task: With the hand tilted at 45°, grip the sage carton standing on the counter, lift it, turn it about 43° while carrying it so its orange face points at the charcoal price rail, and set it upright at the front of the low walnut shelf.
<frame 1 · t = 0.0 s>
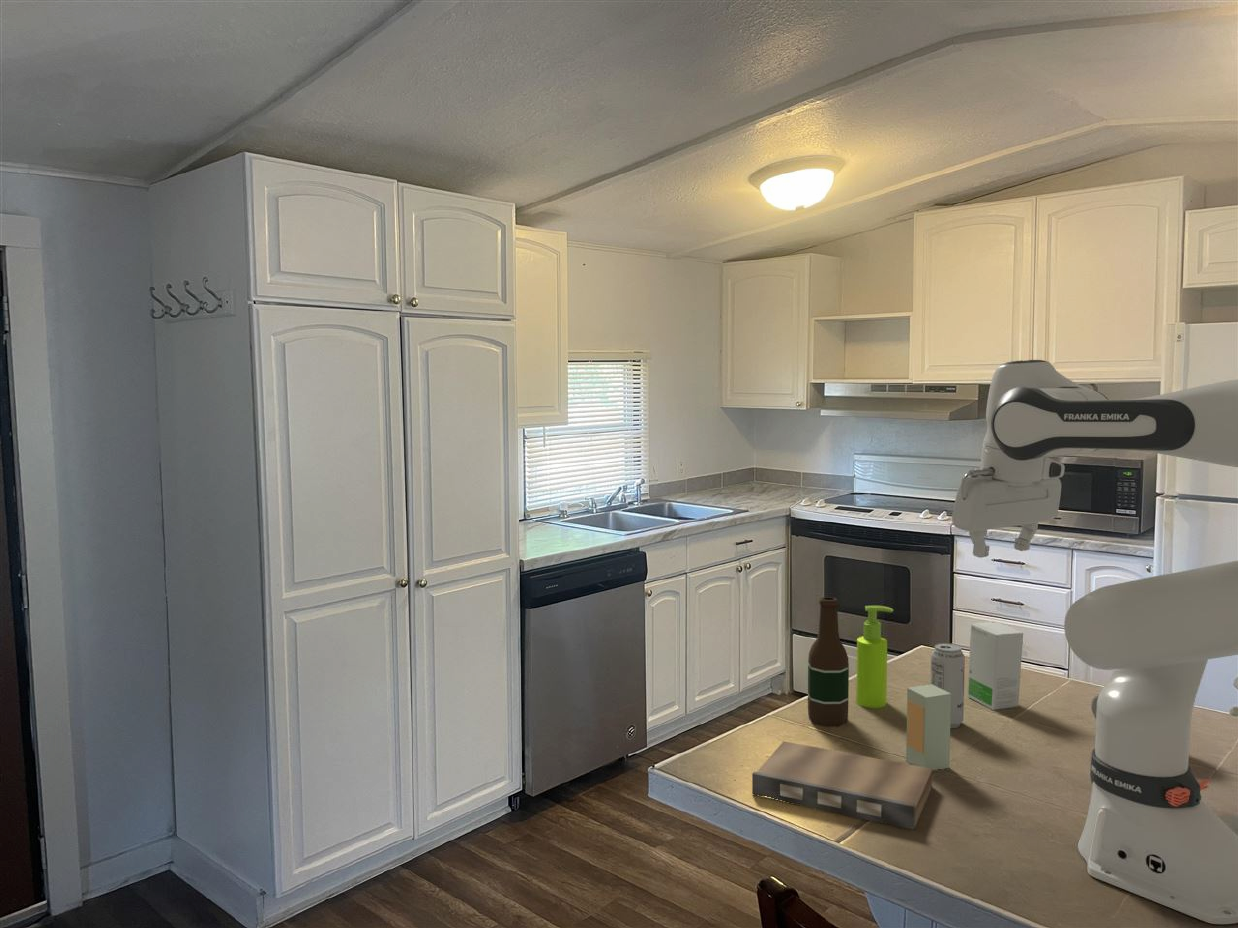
hand: (1001, 553, 141), 39 cm above the countertop, tool pointing down, fingers open, 8 cm apart
beer bottle: (827, 720, 177), on the countertop
mug: (1126, 744, 163), on the countertop
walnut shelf: (843, 789, 147), on the countertop
sage carton: (927, 764, 156), on the countertop
soap dispenser: (873, 703, 185), on the countertop
skincare box: (993, 702, 185), on the countertop
energy drink can: (946, 724, 174), on the countertop
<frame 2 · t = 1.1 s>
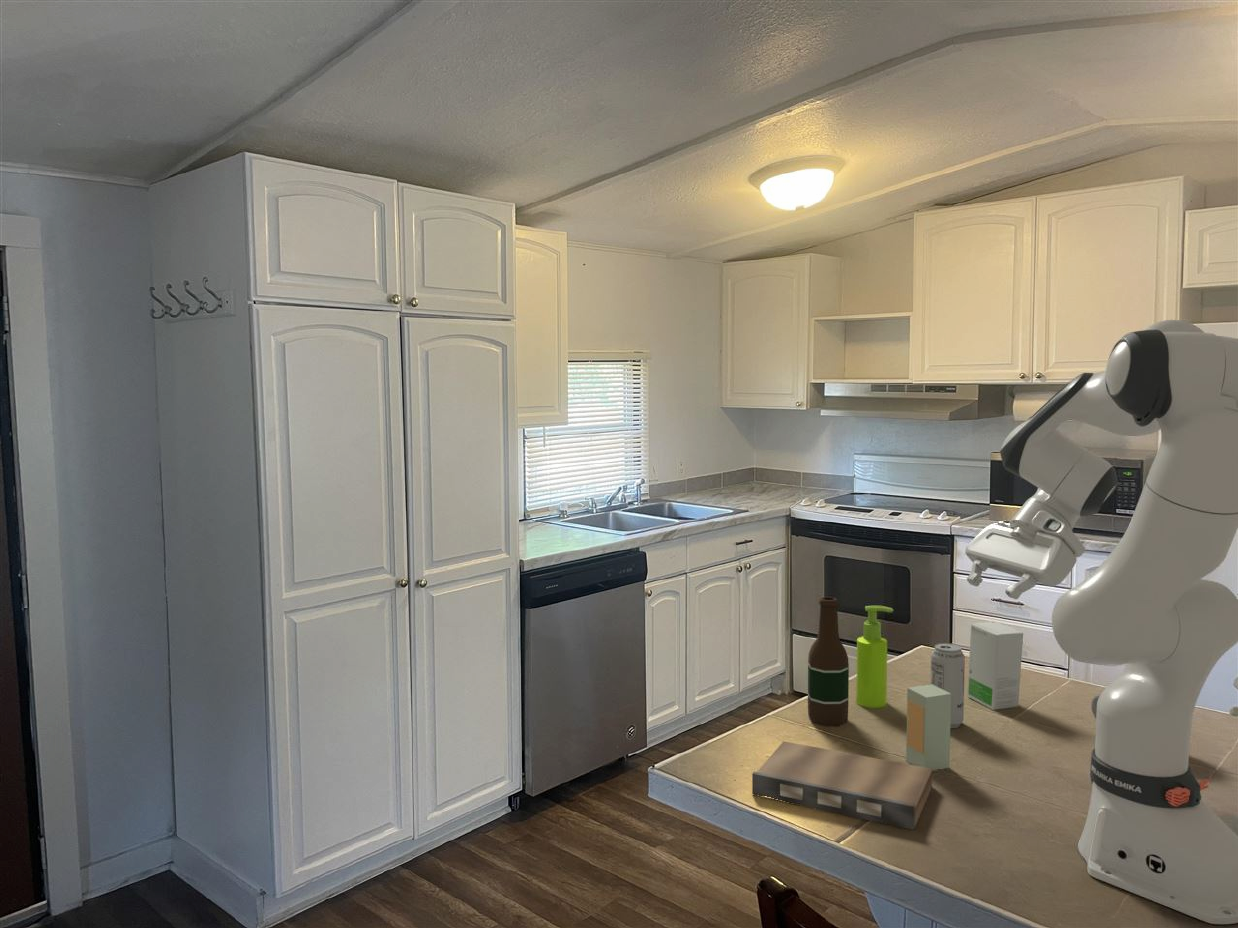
hand: (990, 589, 157), 29 cm above the countertop, tool tilted 45°, fingers open, 8 cm apart
nothing on the countertop moved.
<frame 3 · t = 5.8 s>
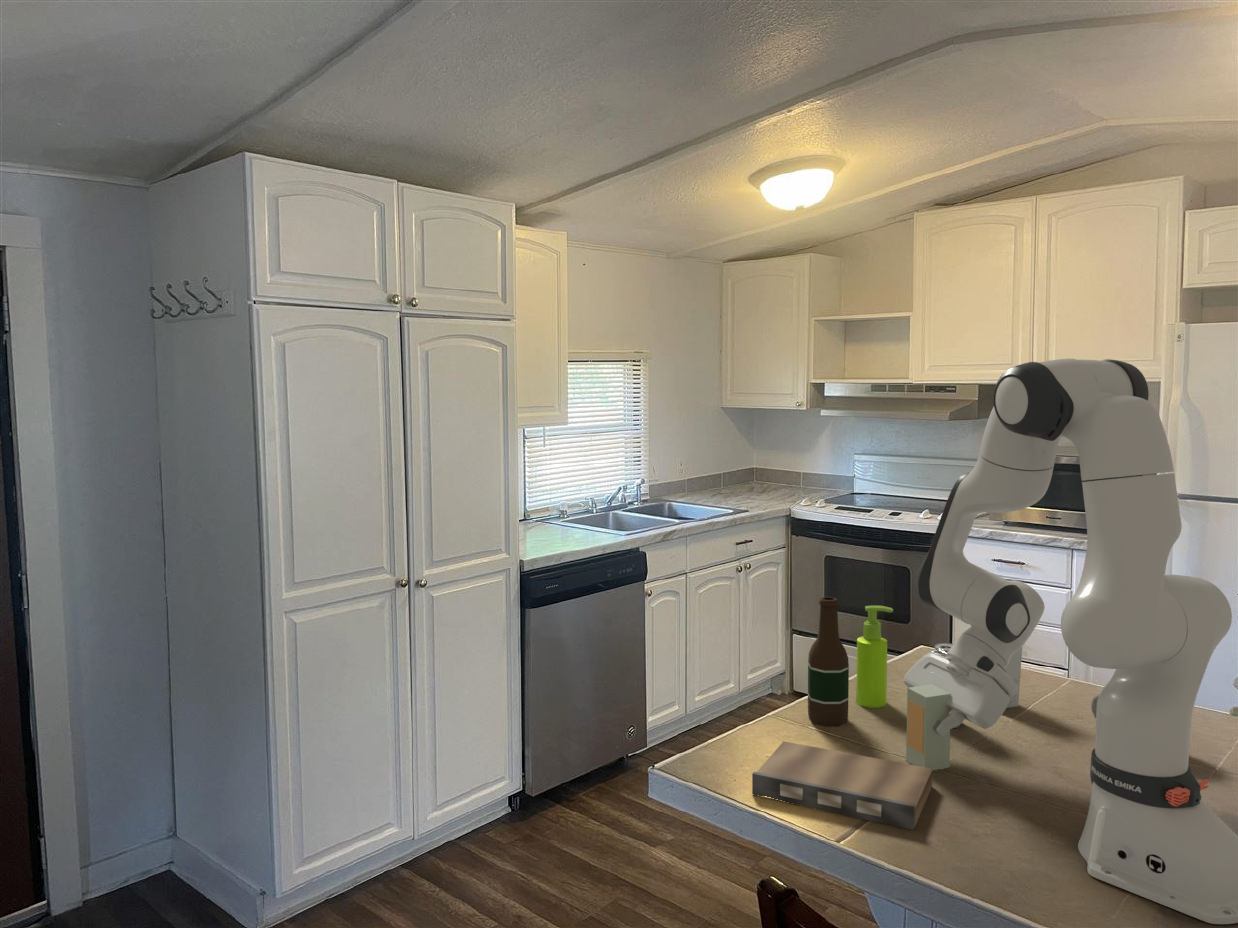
hand: (925, 725, 155), 7 cm above the countertop, tool tilted 45°, fingers closed on sage carton, 5 cm apart
sage carton: (927, 763, 156), on the countertop, touching gripper
everything else where it was.
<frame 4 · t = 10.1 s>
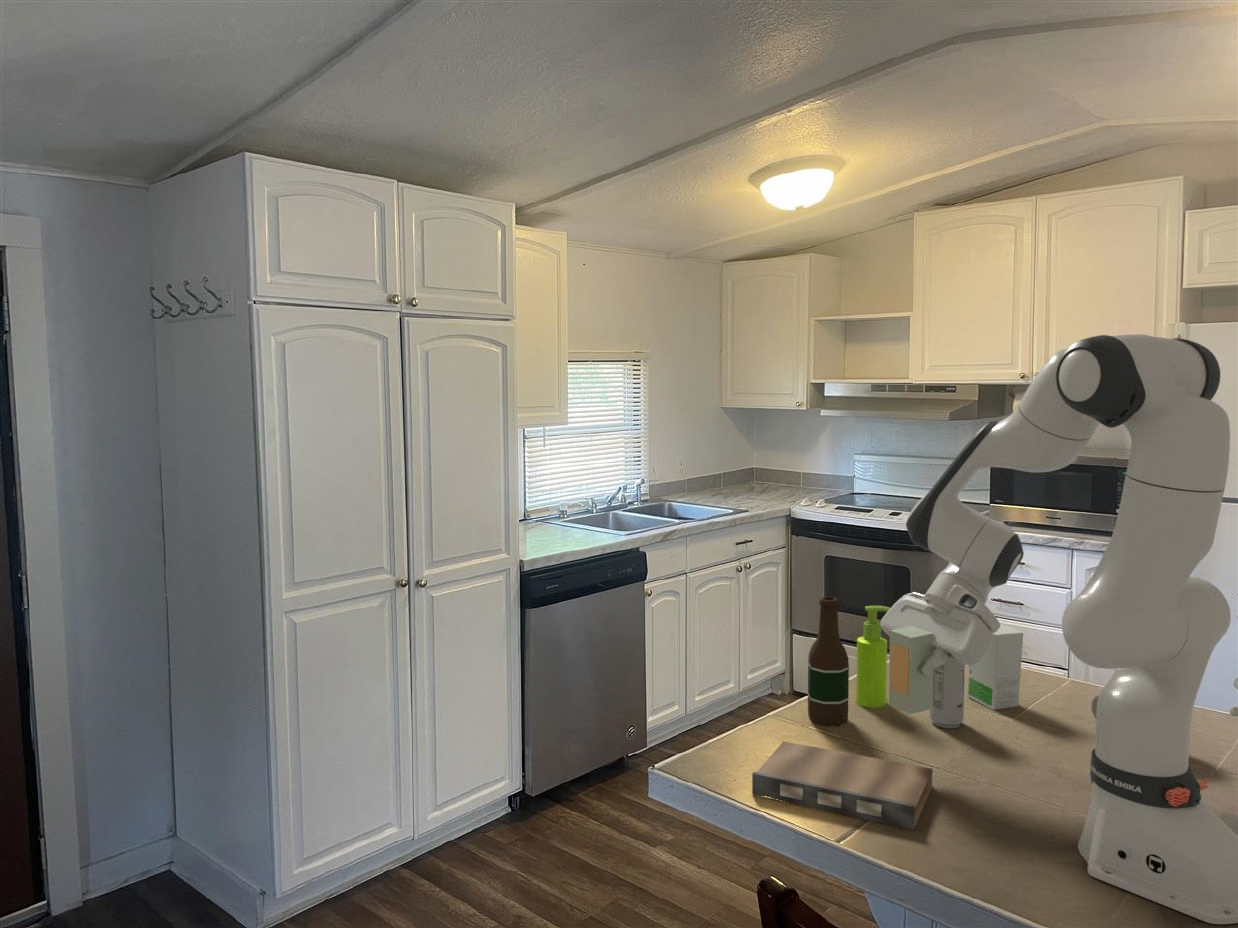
hand: (908, 667, 153), 17 cm above the countertop, tool tilted 45°, fingers closed on sage carton, 5 cm apart
sage carton: (910, 706, 154), point 11 cm above the countertop, touching gripper
everything else where it was.
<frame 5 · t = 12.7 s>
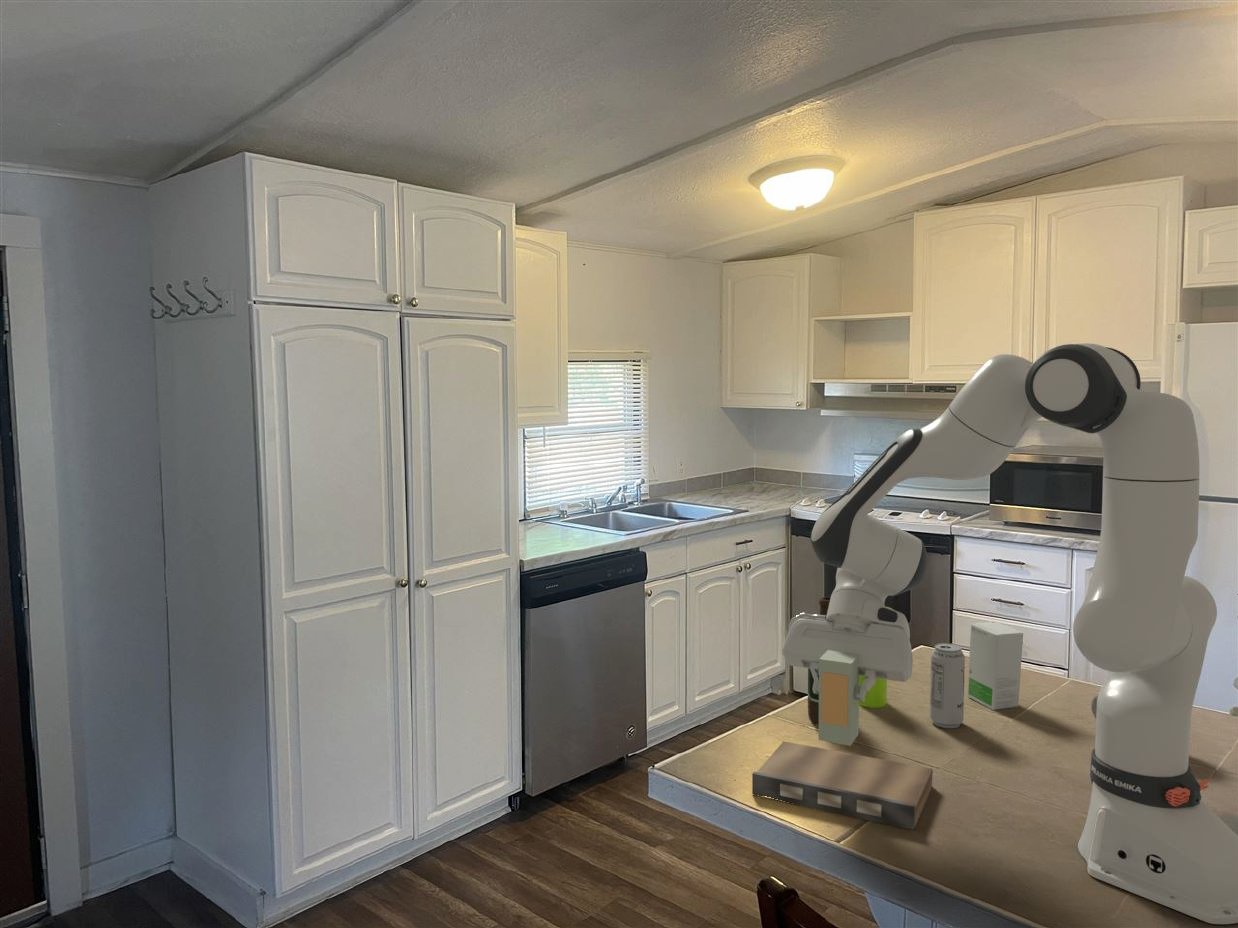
hand: (838, 695, 142), 17 cm above the countertop, tool tilted 45°, fingers closed on sage carton, 5 cm apart
sage carton: (838, 736, 143), point 10 cm above the countertop, touching gripper
everything else where it was.
when the fingers open (11 cm above the countertop, at t = 14.7 s): sage carton drops 1 cm, resting on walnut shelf.
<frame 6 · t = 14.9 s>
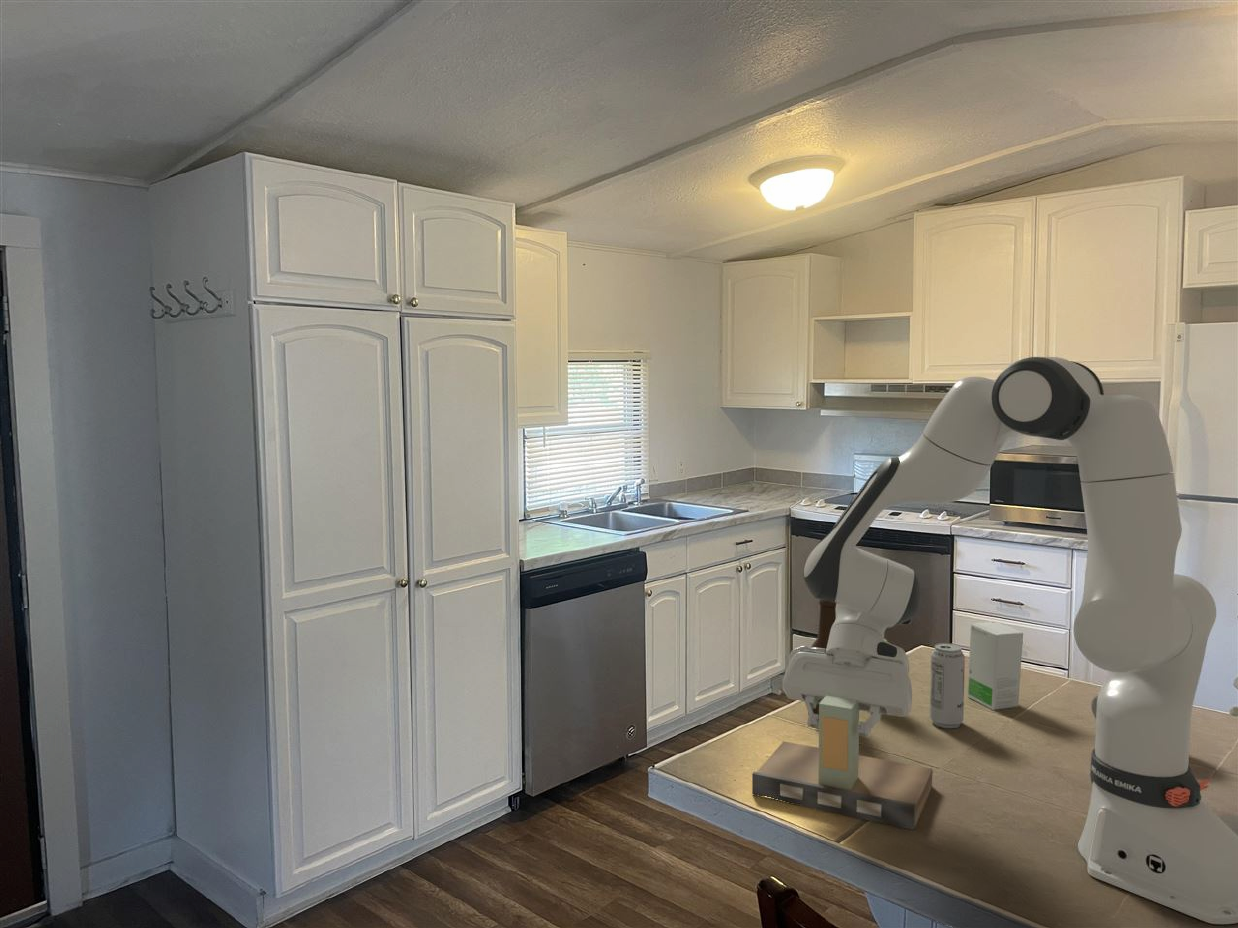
hand: (837, 730, 142), 11 cm above the countertop, tool tilted 45°, fingers open, 7 cm apart
sage carton: (838, 780, 144), point 3 cm above the countertop, touching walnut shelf
everything else where it was.
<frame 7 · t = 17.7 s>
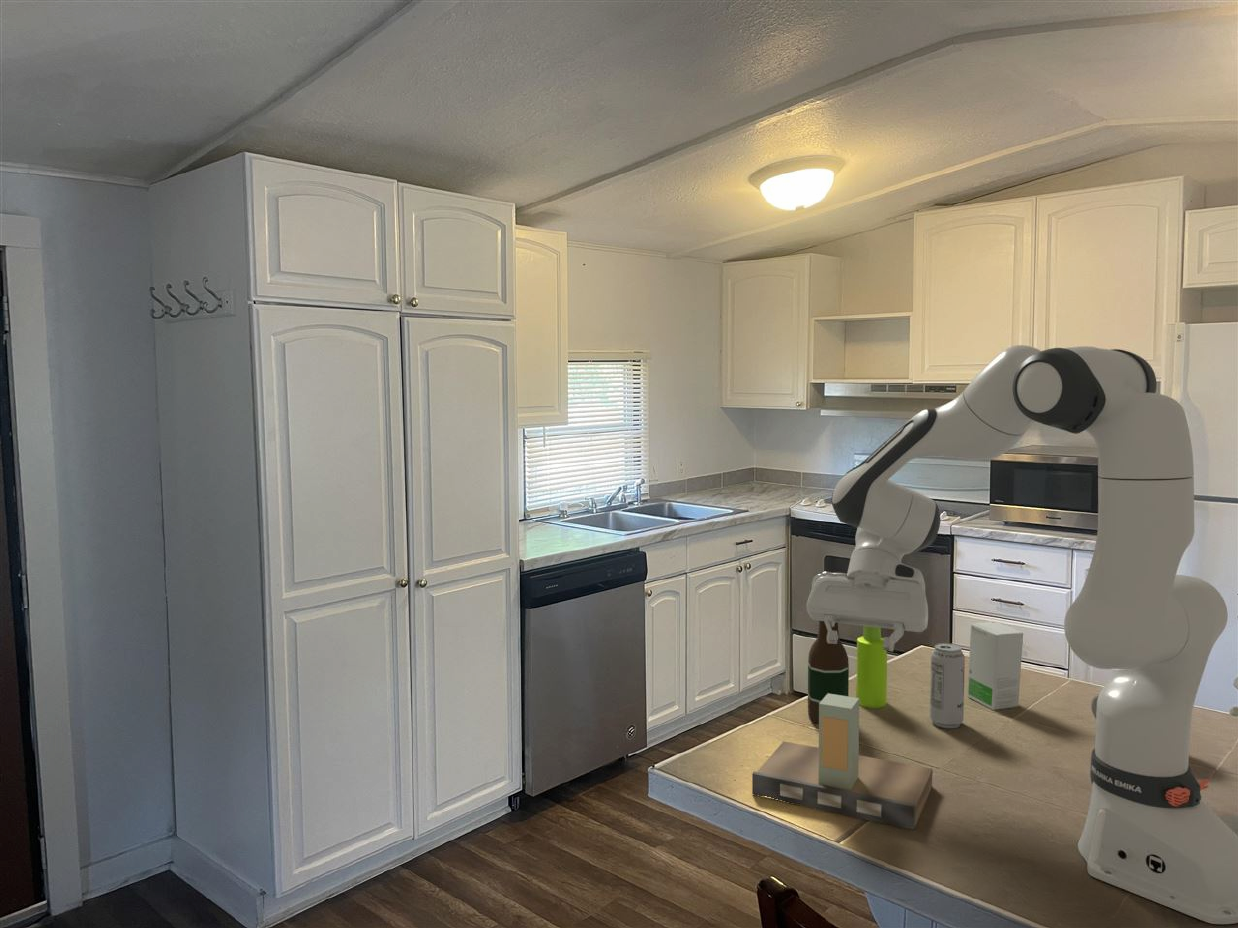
hand: (859, 645, 153), 21 cm above the countertop, tool tilted 45°, fingers open, 8 cm apart
nothing on the countertop moved.
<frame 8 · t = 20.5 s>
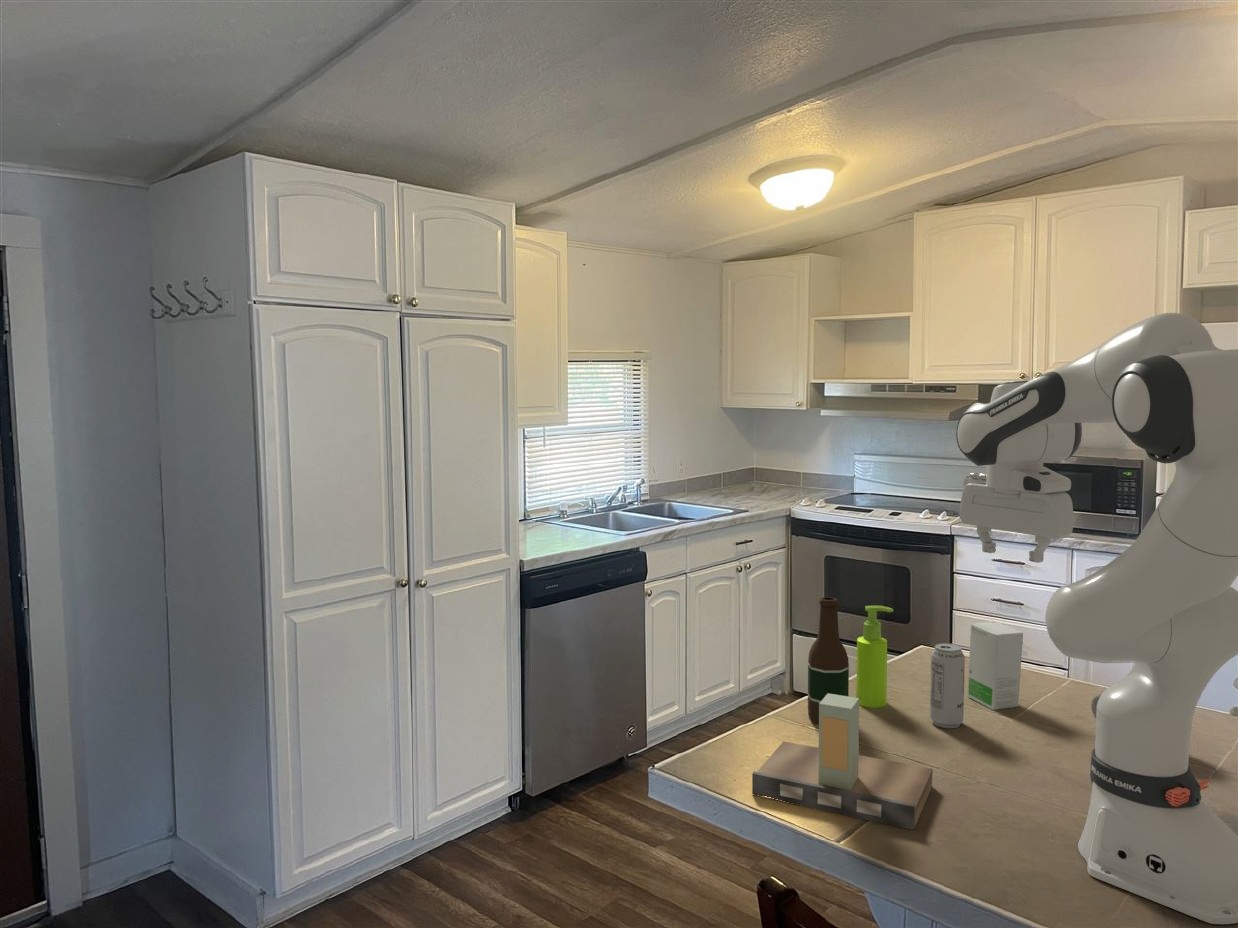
hand: (1011, 556, 156), 35 cm above the countertop, tool pointing down, fingers open, 8 cm apart
nothing on the countertop moved.
at the end: sage carton inside the target area on the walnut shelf (0.4 cm from its centre), point 3.0 cm above the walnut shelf's base; sage carton tilted 0°; the gripper is holding nothing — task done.
